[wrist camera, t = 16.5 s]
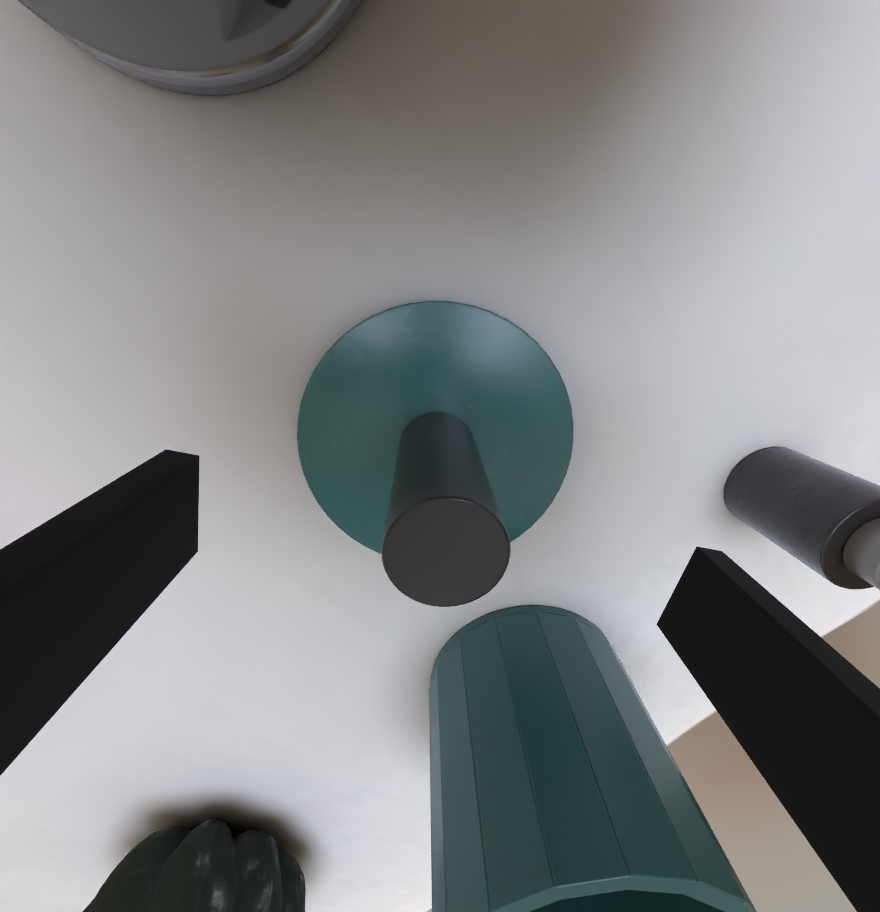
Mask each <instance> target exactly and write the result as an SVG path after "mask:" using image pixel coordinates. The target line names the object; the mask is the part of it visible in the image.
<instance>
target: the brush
mask: <svg viewBox="0 0 880 912" xmlns="http://www.w3.org/2000/svg"><path fill="white" fill-rule="evenodd" d="M724 497H725V502H726V505H727V507H728V509H729V510H730V511H731V513H732V514H734V515H735V516H736V517H738V518H739V519H741V520H742V521H743V522H745V523H746V524H748V525H749V526H751V527H752V528H754V529H755V530H756V531H758V532H759V533H761V534H762V535H764V536H765V537H767V538H768V539H769V540H771V541H772V542H774V543H775V544H777V545H778V546H779V547H781V548H782V549H784V550H785V551H787V552H788V553H790V554H791V555H792V556H794V557H795V558H797V559H798V560H800V561H801V562H803V563H804V564H805V565H807V566H808V567H810V568H811V569H813V570H814V571H816V572H817V573H818V574H820V575H821V576H823V577H824V578H826V579H827V580H829V581H830V582H832V583H833V584H835V585H837V586H839V587H843V588H847V589H865V588H870V587H876V588H877V589H879V590H880V486H879V485H877V484H874V483H872V482H869V481H867V480H864V479H862V478H859V477H857V476H854V475H852V474H850V473H847V472H845V471H842V470H840V469H837V468H835V467H832V466H830V465H827V464H825V463H823V462H820V461H818V460H815V459H813V458H810V457H808V456H805V455H803V454H800V453H798V452H796V451H793V450H791V449H787V448H783V447H772V448H766V449H762V450H759V451H757V452H755V453H753V454H751V455H749V456H748V457H746V458H745V459H744V460H742V461H741V462H740V463H739V464H738V465H737V466H736V467H735V468H734V470H733V471H732V473H731V474H730V476H729V478H728V480H727V482H726V486H725V492H724Z"/></svg>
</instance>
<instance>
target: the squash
mask: <svg viewBox="0 0 880 912" xmlns="http://www.w3.org/2000/svg"><path fill="white" fill-rule="evenodd" d="M83 912H305V879H304V875H303V873H302V871H301V869H300V866H299V864H298V863H297V861H296V860H295V859H294V858H293V857H292V855H291V854H289V853H287V852H286V851H284V850H281V849H277V845H276V842H275V839H274V838H273V837H272V836H271V835H270V834H269V833H267V832H264V831H259V830H254V829H252V830H248V831H245V832H243V833H242V834H240V835H239V836H238V837H236V838H235V839H234V840H233V837H232V834H231V831H230V829H229V827H228V825H227V824H226V823H225V822H223V821H222V820H218V819H216V818H211V819H208V820H205V821H203V822H202V823H201V824H200V825H198V826H197V827H196V828H195V829H193V830H192V831H190V830H189V829H187V828H185V827H182V826H171V827H168V828H165V829H162V830H160V831H157V832H155V833H153V834H151V835H150V836H148V837H147V838H146V839H144V840H143V841H142V842H140V843H139V844H138V845H137V846H136V847H135V848H134V849H132V850H131V851H130V852H129V853H128V854H127V855H126V856H125V858H124V859H123V860H122V861H121V862H120V863H119V864H118V866H117V867H116V868H115V869H114V870H113V872H112V873H111V874H110V875H109V877H108V878H107V880H106V881H105V883H104V884H103V885H102V887H101V888H100V890H99V892H98V893H97V895H96V897H95V898H94V899H93V901H92V902H91V903H90V904H89V905H88V906H87V908H86V909H85V910H84V911H83Z"/></svg>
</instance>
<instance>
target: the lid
mask: <svg viewBox="0 0 880 912" xmlns="http://www.w3.org/2000/svg"><path fill="white" fill-rule="evenodd" d="M297 441H298V451H299V457H300V461H301V465H302V469H303V473H304V475H305V478H306V480H307V483H308V485H309V488H310V490H311V491H312V493H313V495H314V497H315V499H316V500H317V502H318V504H319V505H320V506H321V508H322V509H323V510H324V512H325V513H326V514H327V516H328V517H329V518H330V519H331V520H332V521H333V522H334V523H335V524H336V525H337V526H338V527H339V528H340V529H341V530H343V531H344V532H345V533H346V534H348V535H349V536H350V537H351V538H353V539H354V540H356V541H357V542H359V543H361V544H362V545H364V546H365V547H368V548H370V549H372V550H374V551H376V552H378V553H380V554H382V561H383V565H384V568H385V571H386V573H387V575H388V577H389V579H390V580H391V581H392V583H393V584H394V585H395V586H396V587H397V589H398V590H400V591H401V592H402V593H403V594H404V595H406V596H408V597H409V598H411V599H413V600H415V601H417V602H420V603H423V604H426V605H431V606H439V607H450V606H458V605H462V604H466V603H469V602H472V601H474V600H476V599H478V598H480V597H482V596H483V595H485V594H486V593H488V592H489V591H490V590H491V589H492V588H493V587H494V586H495V585H496V584H497V583H498V582H499V581H500V579H501V578H502V576H503V574H504V573H505V571H506V568H507V566H508V563H509V558H510V550H511V549H510V542H511V541H513V540H514V539H516V538H518V537H519V536H520V535H521V534H523V533H524V532H525V531H526V530H528V529H529V528H530V527H531V526H532V525H533V524H534V523H535V522H536V521H537V520H538V519H539V518H540V517H541V516H542V515H543V513H544V512H545V511H546V509H547V508H548V507H549V505H550V504H551V503H552V501H553V499H554V498H555V496H556V494H557V493H558V491H559V489H560V487H561V485H562V482H563V480H564V478H565V475H566V473H567V469H568V465H569V462H570V458H571V453H572V445H573V417H572V410H571V404H570V401H569V397H568V394H567V390H566V387H565V385H564V383H563V381H562V378H561V376H560V374H559V372H558V370H557V369H556V367H555V365H554V364H553V362H552V361H551V359H550V357H549V356H548V355H547V354H546V352H545V351H544V350H543V349H542V348H541V347H540V345H539V344H538V343H537V342H536V341H535V340H534V339H533V338H531V337H530V336H529V335H528V334H527V333H526V332H525V331H524V330H522V329H521V328H519V327H518V326H516V325H515V324H513V323H512V322H510V321H509V320H507V319H505V318H503V317H501V316H499V315H497V314H495V313H493V312H490V311H488V310H485V309H482V308H479V307H475V306H472V305H468V304H462V303H456V302H450V301H426V302H417V303H409V304H405V305H402V306H398V307H394V308H390V309H388V310H385V311H383V312H381V313H378V314H376V315H373V316H371V317H369V318H368V319H366V320H364V321H363V322H361V323H359V324H358V325H356V326H354V327H353V328H352V329H351V330H349V331H348V332H347V333H346V334H344V335H343V336H342V337H341V338H339V339H338V340H337V342H336V343H335V344H334V345H333V346H332V347H331V348H330V349H329V350H328V351H327V352H326V353H325V355H324V356H323V358H322V359H321V361H320V362H319V364H318V365H317V366H316V368H315V370H314V372H313V374H312V376H311V378H310V380H309V382H308V384H307V386H306V389H305V392H304V395H303V398H302V401H301V405H300V411H299V416H298V428H297Z"/></svg>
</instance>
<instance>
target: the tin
mask: <svg viewBox="0 0 880 912" xmlns="http://www.w3.org/2000/svg"><path fill="white" fill-rule="evenodd" d="M429 718H430V791H431V865H432V912H756V910H755V908H754V906H753V905H752V902H751V901H750V899H749V897H748V895H747V893H746V892H745V890H744V888H743V886H742V884H741V882H740V880H739V879H738V877H737V875H736V873H735V871H734V869H733V868H732V866H731V864H730V862H729V860H728V858H727V857H726V855H725V853H724V851H723V849H722V847H721V846H720V844H719V842H718V840H717V838H716V836H715V834H714V833H713V831H712V829H711V827H710V825H709V823H708V822H707V820H706V818H705V816H704V814H703V812H702V811H701V809H700V807H699V805H698V804H697V801H696V800H695V798H694V796H693V794H692V792H691V790H690V789H689V787H688V785H687V783H686V781H685V779H684V777H683V776H682V774H681V772H680V770H679V768H678V766H677V765H676V763H675V761H674V759H673V757H672V756H671V754H670V752H669V750H668V748H667V746H666V744H665V743H664V741H663V739H662V737H661V735H660V733H659V732H658V730H657V728H656V726H655V724H654V722H653V721H652V719H651V717H650V715H649V713H648V711H647V709H646V708H645V706H644V704H643V702H642V700H641V698H640V697H639V695H638V693H637V691H636V689H635V687H634V686H633V684H632V682H631V680H630V678H629V676H628V675H627V673H626V671H625V669H624V667H623V665H622V664H621V662H620V660H619V658H618V657H617V655H616V653H615V652H614V650H613V649H612V647H611V645H610V643H609V642H608V640H607V639H606V637H605V636H604V635H603V633H602V632H601V631H600V630H599V629H598V628H597V627H596V626H595V625H593V624H592V623H590V622H589V621H588V620H586V619H585V618H583V617H581V616H579V615H577V614H575V613H572V612H569V611H566V610H563V609H558V608H554V607H546V606H520V607H512V608H508V609H503V610H499V611H496V612H493V613H490V614H487V615H485V616H483V617H481V618H479V619H476V620H475V621H473V622H471V623H470V624H468V625H466V626H465V627H464V628H462V629H461V630H460V631H458V632H457V633H456V634H455V635H454V636H453V637H452V638H451V639H450V640H449V641H448V642H447V643H446V645H445V646H444V647H443V649H442V650H441V652H440V654H439V655H438V657H437V659H436V661H435V664H434V667H433V670H432V675H431V686H430V690H429Z"/></svg>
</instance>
